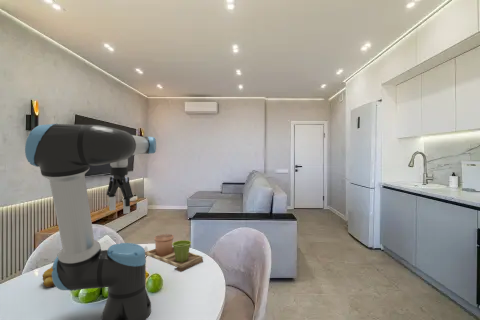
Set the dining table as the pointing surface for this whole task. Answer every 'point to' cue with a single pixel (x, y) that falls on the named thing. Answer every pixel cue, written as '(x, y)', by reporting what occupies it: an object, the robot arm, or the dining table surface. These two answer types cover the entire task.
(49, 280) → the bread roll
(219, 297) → the dining table surface
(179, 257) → the plant pot
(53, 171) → the robot arm
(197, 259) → the pallet
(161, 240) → the pot
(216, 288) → the dining table surface
